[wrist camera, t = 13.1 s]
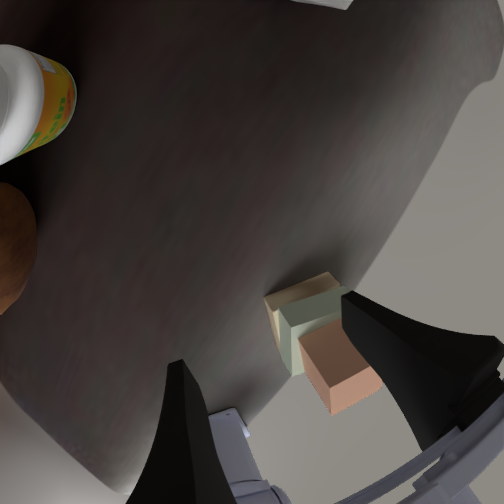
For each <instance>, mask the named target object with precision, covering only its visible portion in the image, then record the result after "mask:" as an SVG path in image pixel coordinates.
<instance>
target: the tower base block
mask: <svg viewBox="0 0 504 504" xmlns="http://www.w3.org/2000/svg"><path fill="white" fill-rule="evenodd" d="M338 287H340V283H339V282H338V281H337V280H336V279H335V278H334V277H333V276H332V275H331V274H330V273H329V272H328V271H327V272H325V273H322V274H320V275H318V276H315V277H313V278H310V279H308V280H305V281H303V282H300V283H298V284H295V285H293V286H290V287H288V288H285V289H283V290H280V291H278V292H275V293H273V294H270V295H268V296H265V297H264V301H265V305H266V309H267V313H268V317H269V321H270V325H271V329H272V333H273V337H274V341H275V344H276V346H277V348H278V350H279V352H280V353H281V351H280V335H279V319H278V307H280V306H283V305H286V304H289V303H293V302H296V301H299V300H302V299H305V298H308V297H311V296H314V295H317V294H321V293H324V292H327V291H330V290H333V289H336V288H338Z"/></svg>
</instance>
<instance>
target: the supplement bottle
mask: <svg viewBox="0 0 504 504" xmlns="http://www.w3.org/2000/svg"><path fill="white" fill-rule="evenodd" d="M76 98H77V92H76V85H75V82H74V79H73V77H72V75H71V74H70V72H69V71H68V70H67V69H66V68H65V67H64V66H63V65H61V64H59V63H58V62H55V61H53V60H51V59H48V58H46V57H43V56H41V55H38V54H36V53H33V52H30V51H28V50H25V49H23V48H20V47H17V46H12V45H0V165H2V164H4V163H6V162H8V161H10V160H11V159H13V158H15V157H17V156H20V155H22V154H24V153H26V152H28V151H30V150H32V149H35V148H37V147H39V146H42V145H44V144H46V143H48V142H50V141H51V140H53V139H54V138H56V137H57V136H58V135H59V134H60V133H61V132H62V131H63V130H64V129H65V127H66V126H67V125H68V123H69V121H70V119H71V117H72V115H73V113H74V110H75V105H76Z"/></svg>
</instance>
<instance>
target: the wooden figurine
mask: <svg viewBox="0 0 504 504" xmlns="http://www.w3.org/2000/svg"><path fill="white" fill-rule="evenodd" d="M36 255H37V225H36V219H35V214H34V211H33V209H32V207H31V205H30V202H29V201H28V199H27V198H26V197H25V195H24V194H23V193H22V191H20V190H18V189H17V188H15V187H13V186H12V185H10V184H9V183H1V182H0V315H2V313H3V312H4V311H5V310H6V309H7V308H8V307H9V306H10V305H11V304H12V303H13V302H15V301H16V300H17V299H18V298H19V296H20V294H21V293H22V291H23V289H24V287H25V285H26V283H27V280H28V278H29V275H30V273H31V271H32V268H33V266H34V263H35V259H36Z"/></svg>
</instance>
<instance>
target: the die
mask: <svg viewBox="0 0 504 504" xmlns="http://www.w3.org/2000/svg"><path fill="white" fill-rule="evenodd" d="M292 1H296V2H302V3H309V4H316V5H322V6H328V7H333V8H338V9H343V10H346V9H347V8H348V7H349V5H350V4H351V2H352V1H353V0H292Z"/></svg>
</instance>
